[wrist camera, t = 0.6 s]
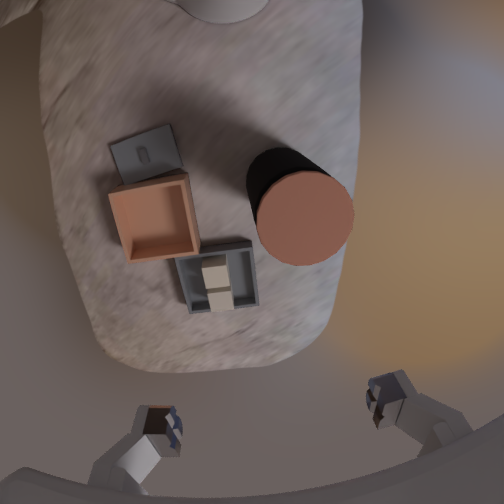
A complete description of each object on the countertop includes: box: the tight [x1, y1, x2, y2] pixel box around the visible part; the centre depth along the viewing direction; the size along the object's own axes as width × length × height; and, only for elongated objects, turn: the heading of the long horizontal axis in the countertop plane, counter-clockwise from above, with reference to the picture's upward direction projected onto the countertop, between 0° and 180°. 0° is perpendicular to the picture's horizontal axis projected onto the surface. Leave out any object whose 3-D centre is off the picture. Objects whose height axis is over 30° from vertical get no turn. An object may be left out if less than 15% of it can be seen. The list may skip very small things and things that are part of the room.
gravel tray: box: [174, 241, 259, 314], centre depth 53 cm, size 12×13×2 cm
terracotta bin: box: [108, 173, 201, 264], centre depth 46 cm, size 12×12×4 cm
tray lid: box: [110, 124, 183, 186], centre depth 42 cm, size 7×10×2 cm
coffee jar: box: [246, 148, 354, 266], centre depth 39 cm, size 11×11×18 cm
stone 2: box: [207, 279, 234, 312], centre depth 53 cm, size 4×4×4 cm
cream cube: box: [202, 254, 230, 289], centre depth 51 cm, size 4×4×4 cm
